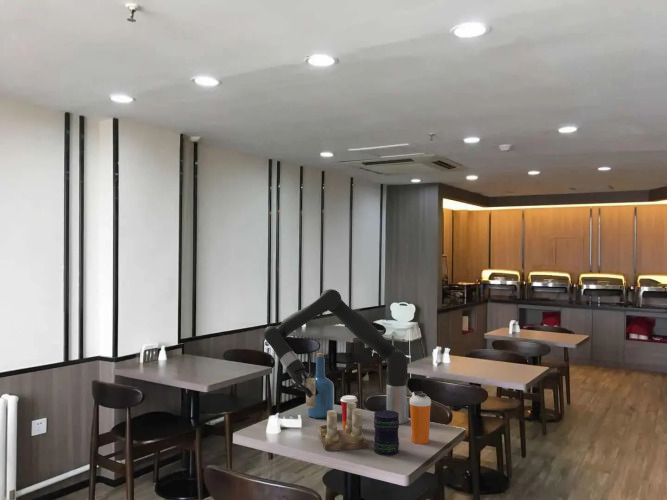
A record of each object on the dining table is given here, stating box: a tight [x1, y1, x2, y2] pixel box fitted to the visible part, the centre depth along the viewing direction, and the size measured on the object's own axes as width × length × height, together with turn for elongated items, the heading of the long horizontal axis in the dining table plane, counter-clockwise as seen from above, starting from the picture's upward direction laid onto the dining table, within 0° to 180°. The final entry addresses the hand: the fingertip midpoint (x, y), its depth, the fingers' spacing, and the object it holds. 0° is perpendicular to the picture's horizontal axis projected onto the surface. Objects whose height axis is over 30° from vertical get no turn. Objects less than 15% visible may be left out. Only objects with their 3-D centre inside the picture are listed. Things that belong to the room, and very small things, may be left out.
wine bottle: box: [306, 352, 335, 419], centre depth 268 cm, size 14×13×30 cm
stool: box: [318, 402, 368, 452], centre depth 228 cm, size 17×17×14 cm
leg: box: [305, 378, 315, 409], centre depth 237 cm, size 4×4×12 cm
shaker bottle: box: [408, 391, 432, 445], centre depth 230 cm, size 9×9×20 cm
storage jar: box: [373, 403, 400, 457], centre depth 217 cm, size 10×10×18 cm
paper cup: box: [339, 395, 359, 430], centre depth 246 cm, size 8×8×14 cm
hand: (314, 395), depth 236 cm, fingers closed on leg, 4 cm apart
